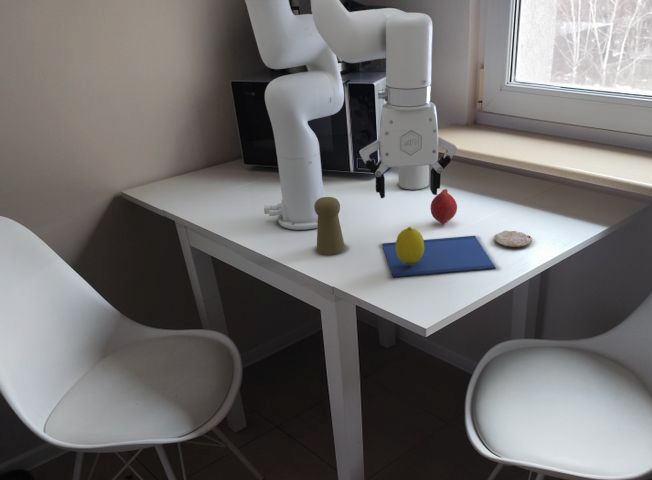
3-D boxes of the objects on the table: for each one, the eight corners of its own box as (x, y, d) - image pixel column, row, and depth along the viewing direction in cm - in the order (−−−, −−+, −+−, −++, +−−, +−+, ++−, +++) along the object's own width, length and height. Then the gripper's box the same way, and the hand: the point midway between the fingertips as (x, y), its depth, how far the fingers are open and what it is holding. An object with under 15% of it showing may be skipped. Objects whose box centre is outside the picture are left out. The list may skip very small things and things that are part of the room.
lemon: (422, 272, 119) (422, 233, 114) (393, 271, 120) (392, 232, 115) (425, 260, 123) (426, 222, 119) (398, 259, 124) (397, 221, 120)
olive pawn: (322, 257, 127) (317, 205, 121) (312, 247, 132) (307, 196, 126) (349, 251, 129) (345, 200, 123) (339, 241, 134) (335, 191, 128)
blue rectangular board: (392, 278, 118) (392, 276, 118) (382, 244, 131) (382, 243, 131) (495, 268, 119) (495, 267, 119) (474, 237, 133) (474, 235, 133)
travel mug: (409, 192, 159) (408, 119, 149) (393, 184, 165) (391, 113, 155) (435, 186, 162) (435, 114, 152) (418, 178, 168) (417, 109, 158)
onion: (439, 230, 137) (440, 195, 132) (425, 222, 141) (425, 188, 137) (461, 225, 139) (462, 190, 135) (447, 217, 143) (447, 183, 139)
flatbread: (538, 244, 128) (539, 240, 127) (506, 251, 126) (507, 246, 125) (517, 231, 134) (518, 226, 134) (486, 237, 132) (487, 232, 131)
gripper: (359, 103, 101) (363, 204, 111) (463, 98, 102) (458, 198, 112) (355, 94, 107) (359, 190, 117) (454, 89, 108) (449, 184, 118)
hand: (407, 194), depth 114 cm, fingers open, 9 cm apart
